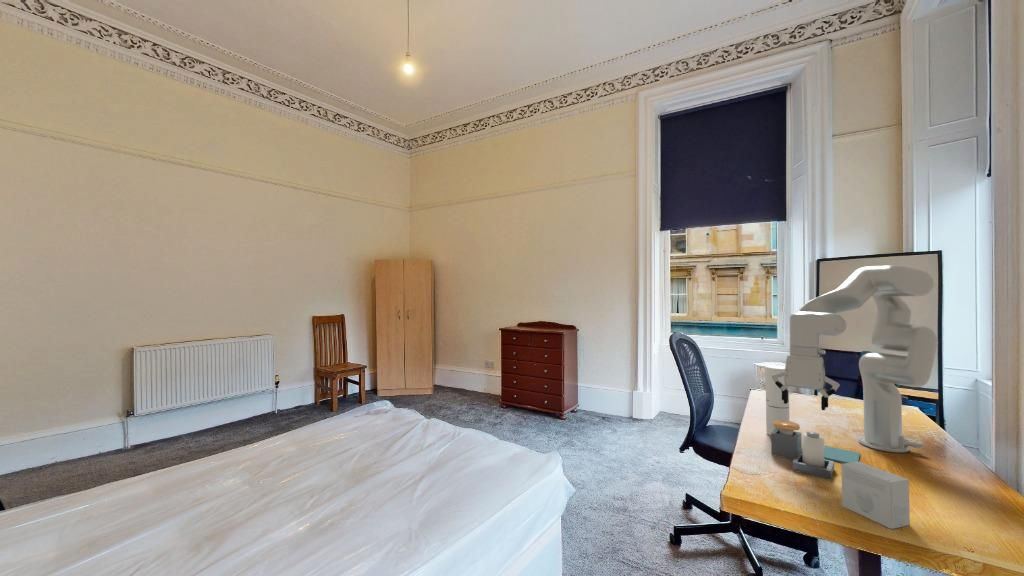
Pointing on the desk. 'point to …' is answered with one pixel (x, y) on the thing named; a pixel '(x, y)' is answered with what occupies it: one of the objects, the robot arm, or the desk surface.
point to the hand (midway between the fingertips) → (804, 406)
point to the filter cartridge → (813, 449)
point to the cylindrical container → (775, 398)
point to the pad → (840, 455)
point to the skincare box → (876, 494)
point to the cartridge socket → (813, 468)
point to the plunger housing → (786, 444)
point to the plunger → (786, 427)
